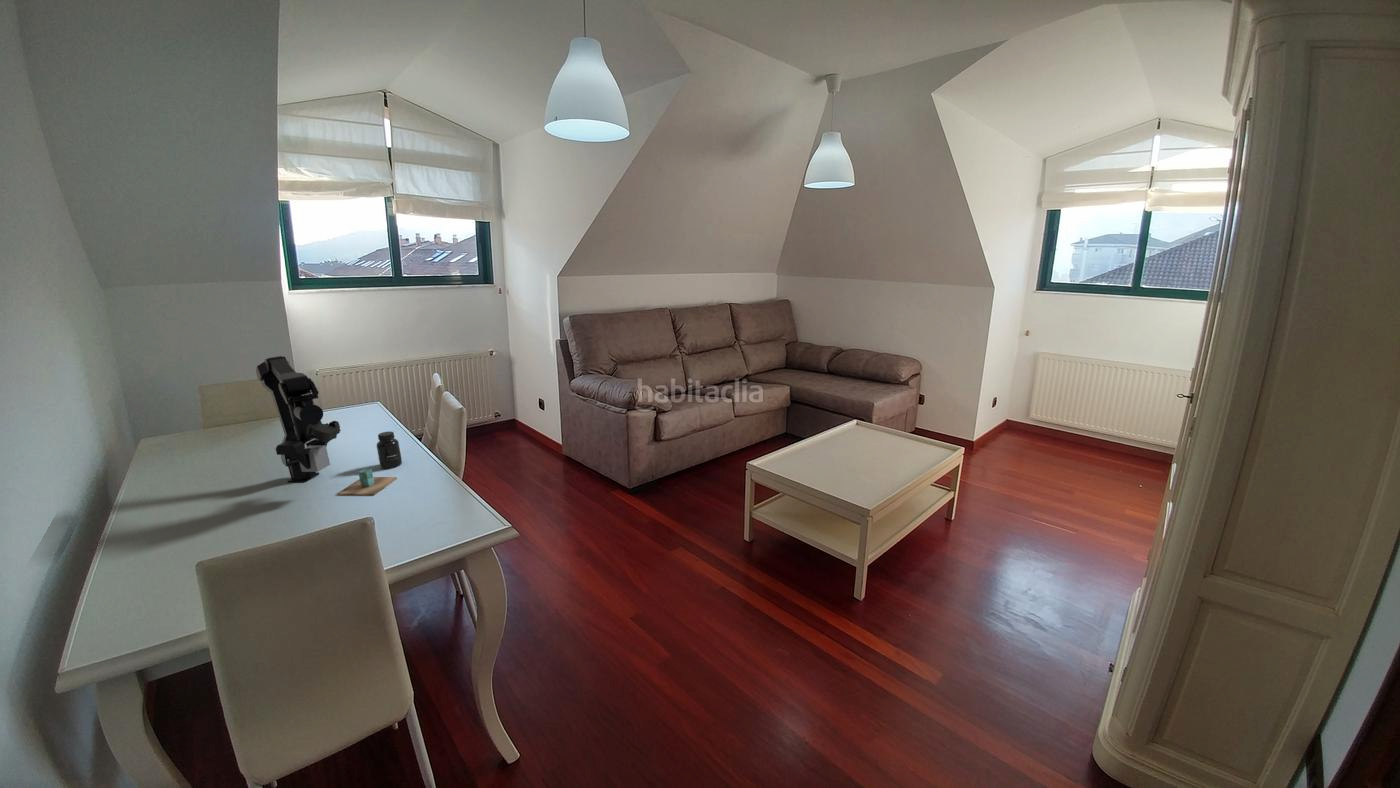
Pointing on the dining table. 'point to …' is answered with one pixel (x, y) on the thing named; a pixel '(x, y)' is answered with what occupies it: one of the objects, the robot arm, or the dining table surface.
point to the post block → (367, 484)
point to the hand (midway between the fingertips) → (315, 465)
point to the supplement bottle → (388, 450)
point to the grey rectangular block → (317, 458)
